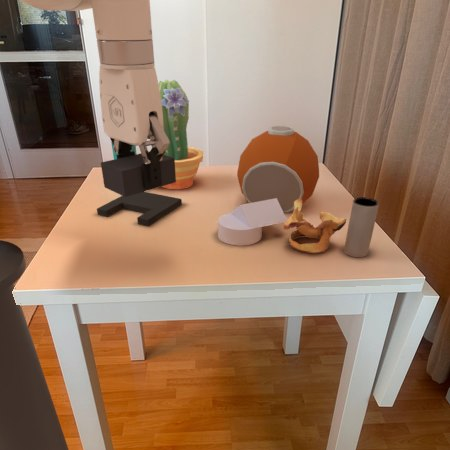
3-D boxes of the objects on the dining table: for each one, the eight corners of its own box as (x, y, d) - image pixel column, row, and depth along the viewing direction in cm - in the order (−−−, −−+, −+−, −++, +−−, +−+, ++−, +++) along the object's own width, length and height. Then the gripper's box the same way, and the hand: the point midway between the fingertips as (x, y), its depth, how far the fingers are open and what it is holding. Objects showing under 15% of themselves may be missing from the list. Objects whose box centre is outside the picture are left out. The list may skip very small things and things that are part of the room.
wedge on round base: (263, 220, 94) (211, 231, 89) (265, 191, 90) (210, 201, 85) (286, 236, 87) (230, 249, 82) (288, 205, 83) (231, 217, 79)
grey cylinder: (371, 257, 80) (383, 205, 74) (348, 258, 80) (358, 206, 74) (362, 246, 84) (373, 196, 78) (340, 247, 83) (349, 197, 77)
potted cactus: (138, 190, 109) (126, 83, 95) (159, 172, 121) (151, 75, 107) (195, 196, 106) (191, 86, 92) (211, 176, 119) (209, 77, 104)
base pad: (97, 214, 96) (96, 208, 95) (134, 195, 106) (133, 189, 106) (148, 226, 91) (147, 219, 90) (181, 204, 101) (181, 198, 100)
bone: (287, 258, 79) (291, 217, 75) (274, 235, 87) (277, 197, 83) (347, 254, 81) (355, 213, 76) (329, 232, 89) (335, 194, 84)
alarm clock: (318, 194, 107) (328, 122, 98) (311, 221, 93) (321, 140, 84) (245, 187, 112) (248, 117, 102) (228, 211, 98) (229, 134, 88)
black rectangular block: (104, 187, 68) (100, 162, 65) (154, 174, 74) (152, 150, 71) (125, 197, 64) (121, 171, 62) (176, 182, 70) (174, 157, 68)
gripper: (71, 52, 61) (92, 175, 71) (140, 61, 51) (154, 202, 61) (115, 50, 66) (129, 166, 76) (187, 57, 56) (192, 190, 66)
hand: (140, 181), depth 69 cm, fingers closed on black rectangular block, 6 cm apart
